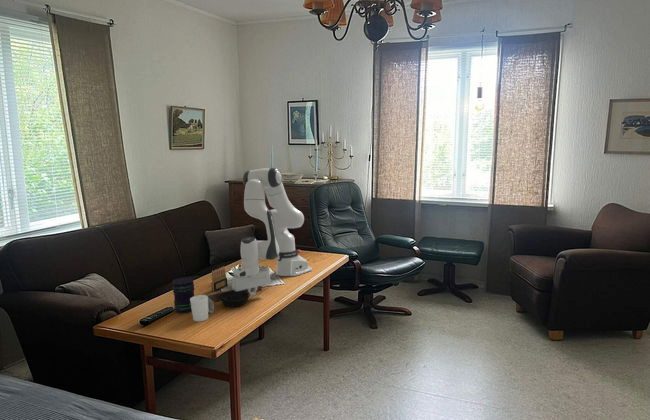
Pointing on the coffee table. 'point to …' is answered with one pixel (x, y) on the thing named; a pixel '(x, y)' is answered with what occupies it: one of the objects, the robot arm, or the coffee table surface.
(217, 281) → the ammunition clip
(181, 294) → the storage jar
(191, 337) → the coffee table surface
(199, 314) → the white cup
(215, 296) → the bracket
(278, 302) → the coffee table surface
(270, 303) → the coffee table surface
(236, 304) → the oil lamp
